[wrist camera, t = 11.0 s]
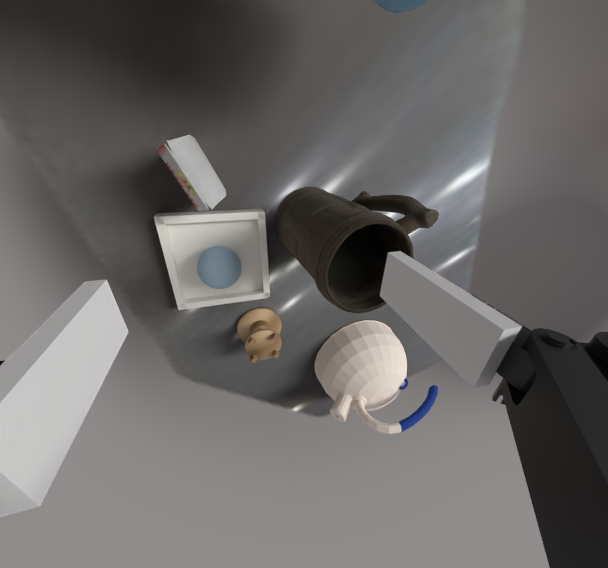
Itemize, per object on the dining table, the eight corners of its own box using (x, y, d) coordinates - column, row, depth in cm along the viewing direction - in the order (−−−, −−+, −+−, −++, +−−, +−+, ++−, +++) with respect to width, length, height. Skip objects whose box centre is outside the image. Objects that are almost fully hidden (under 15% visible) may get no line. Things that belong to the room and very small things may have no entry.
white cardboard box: (194, 137, 31) (184, 131, 22) (225, 189, 34) (226, 201, 26) (168, 151, 31) (147, 151, 22) (201, 202, 34) (195, 218, 26)
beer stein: (300, 269, 43) (361, 336, 26) (256, 224, 37) (299, 271, 20) (365, 208, 43) (472, 235, 25) (331, 152, 37) (439, 139, 20)
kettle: (305, 337, 51) (342, 417, 35) (395, 307, 54) (464, 368, 39) (319, 399, 61) (352, 482, 45) (394, 370, 64) (448, 438, 49)
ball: (195, 242, 35) (189, 256, 30) (238, 239, 37) (240, 252, 32) (202, 280, 38) (198, 299, 33) (242, 275, 40) (245, 293, 35)
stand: (227, 331, 44) (228, 356, 39) (257, 299, 43) (262, 321, 38) (261, 349, 49) (266, 375, 43) (289, 321, 47) (298, 343, 42)
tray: (157, 213, 33) (153, 216, 31) (262, 208, 37) (264, 211, 35) (180, 302, 40) (178, 310, 38) (268, 291, 43) (270, 297, 41)
